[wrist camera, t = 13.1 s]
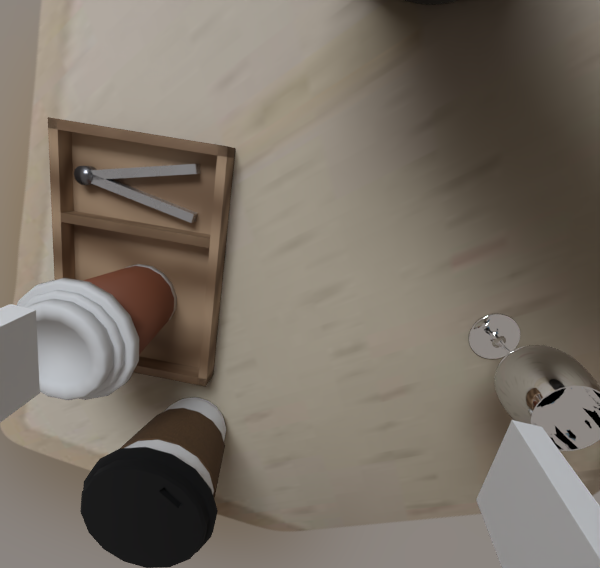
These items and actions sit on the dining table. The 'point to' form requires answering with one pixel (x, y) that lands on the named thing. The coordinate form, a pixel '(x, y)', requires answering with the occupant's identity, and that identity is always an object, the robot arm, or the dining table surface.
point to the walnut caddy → (147, 231)
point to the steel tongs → (105, 180)
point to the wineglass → (540, 384)
